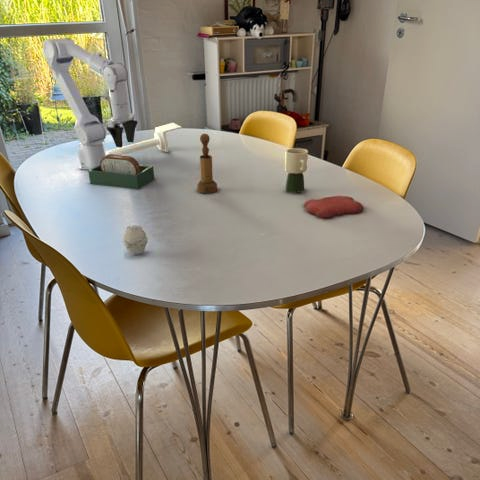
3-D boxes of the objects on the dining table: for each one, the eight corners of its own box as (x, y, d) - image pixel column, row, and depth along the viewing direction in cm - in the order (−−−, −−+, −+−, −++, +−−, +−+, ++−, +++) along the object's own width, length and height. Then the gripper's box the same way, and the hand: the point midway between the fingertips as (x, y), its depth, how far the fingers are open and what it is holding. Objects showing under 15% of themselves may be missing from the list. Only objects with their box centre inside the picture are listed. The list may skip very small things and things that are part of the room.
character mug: (312, 194, 156) (315, 153, 149) (292, 197, 154) (294, 156, 147) (297, 185, 164) (299, 145, 157) (278, 187, 162) (279, 147, 155)
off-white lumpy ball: (150, 246, 124) (147, 221, 120) (147, 258, 118) (143, 232, 115) (127, 247, 124) (123, 221, 120) (122, 259, 118) (118, 233, 114)
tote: (90, 183, 169) (87, 170, 166) (108, 174, 178) (106, 161, 175) (138, 189, 163) (136, 175, 160) (154, 179, 172) (153, 166, 170)
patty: (319, 220, 137) (319, 214, 136) (296, 205, 148) (297, 198, 147) (371, 211, 143) (371, 205, 141) (345, 197, 153) (346, 191, 152)
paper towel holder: (181, 126, 199) (107, 146, 189) (185, 148, 204) (113, 168, 194) (173, 122, 206) (101, 141, 196) (177, 143, 211) (107, 162, 201)
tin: (142, 180, 169) (139, 156, 164) (138, 183, 166) (134, 158, 162) (106, 176, 173) (101, 152, 169) (101, 179, 171) (96, 155, 166)
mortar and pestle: (214, 194, 158) (211, 136, 148) (195, 193, 159) (191, 136, 149) (219, 187, 163) (217, 132, 153) (200, 186, 164) (197, 131, 154)
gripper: (117, 107, 158) (123, 150, 166) (140, 100, 169) (145, 140, 177) (99, 106, 160) (106, 148, 168) (123, 99, 172) (128, 139, 179)
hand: (125, 144), depth 173 cm, fingers open, 7 cm apart
